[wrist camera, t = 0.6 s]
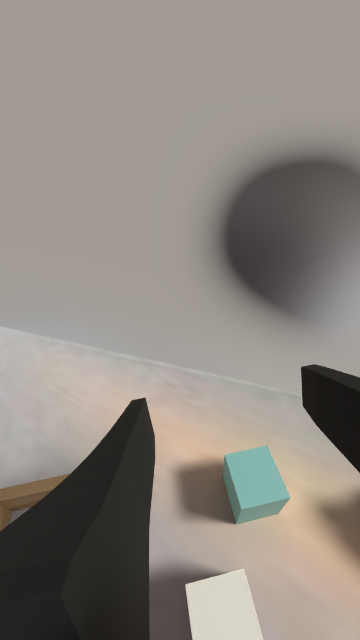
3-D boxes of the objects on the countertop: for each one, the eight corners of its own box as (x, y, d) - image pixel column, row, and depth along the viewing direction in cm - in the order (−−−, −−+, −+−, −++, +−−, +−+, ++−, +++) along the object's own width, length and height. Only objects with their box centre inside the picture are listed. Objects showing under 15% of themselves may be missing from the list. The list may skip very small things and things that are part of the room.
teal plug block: (278, 514, 22) (290, 497, 19) (236, 524, 21) (241, 509, 18) (259, 466, 25) (267, 445, 22) (222, 475, 24) (224, 454, 21)
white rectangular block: (259, 661, 16) (272, 674, 13) (201, 680, 15) (200, 697, 12) (237, 575, 19) (244, 568, 16) (188, 588, 19) (185, 584, 15)
